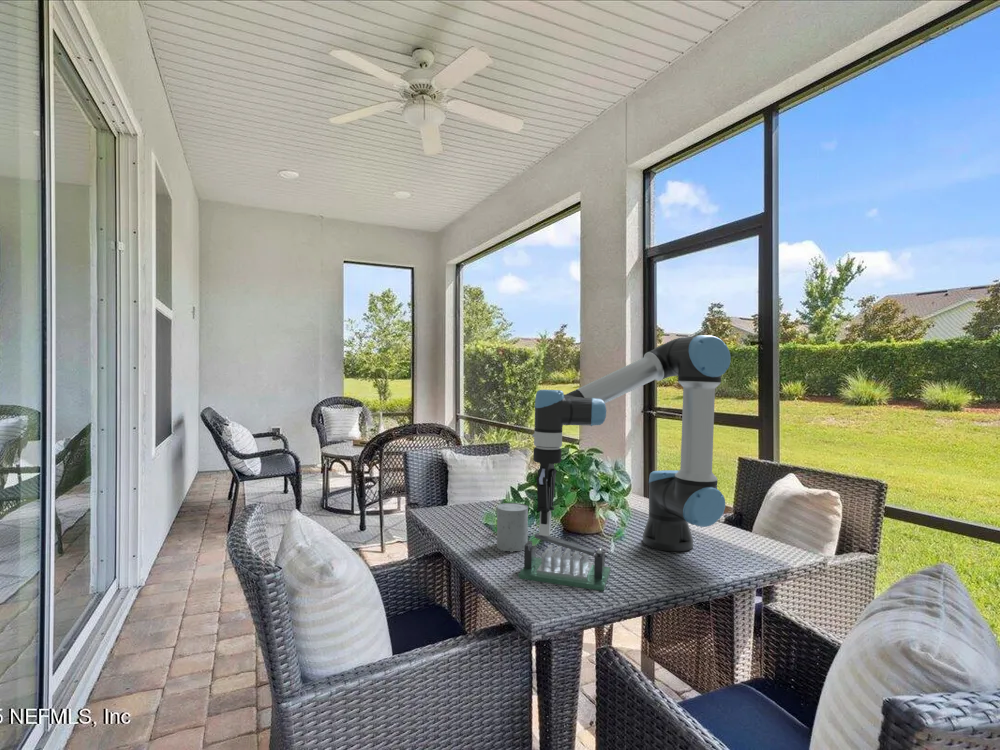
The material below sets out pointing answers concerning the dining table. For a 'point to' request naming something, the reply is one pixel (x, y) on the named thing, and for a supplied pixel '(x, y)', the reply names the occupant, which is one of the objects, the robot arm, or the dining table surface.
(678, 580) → the dining table surface
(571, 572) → the heatsink board
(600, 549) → the grey hinged clamp bar
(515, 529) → the grey cylinder
